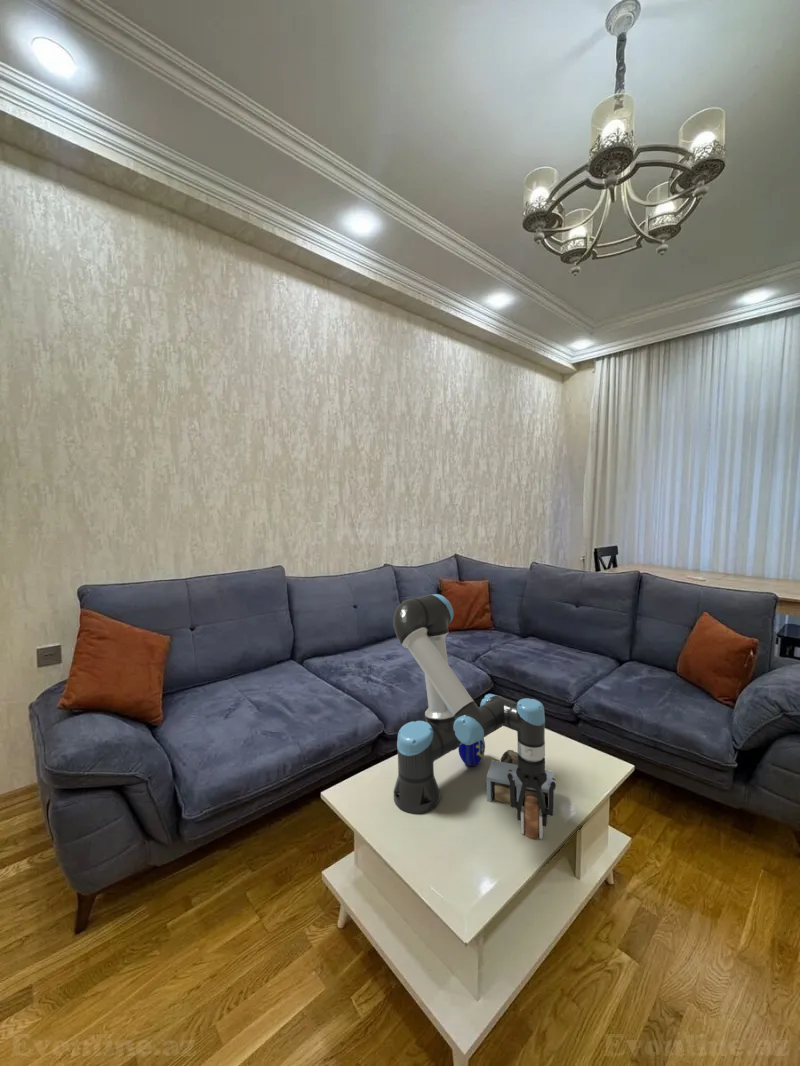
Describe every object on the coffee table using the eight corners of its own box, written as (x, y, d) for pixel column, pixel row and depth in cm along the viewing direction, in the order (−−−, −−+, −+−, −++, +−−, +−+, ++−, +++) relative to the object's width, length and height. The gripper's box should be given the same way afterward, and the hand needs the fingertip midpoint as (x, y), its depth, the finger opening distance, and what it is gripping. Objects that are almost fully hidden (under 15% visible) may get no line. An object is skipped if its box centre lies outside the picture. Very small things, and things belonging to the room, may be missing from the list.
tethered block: (520, 835, 124) (520, 802, 123) (526, 793, 142) (526, 764, 141) (542, 841, 121) (542, 807, 121) (545, 797, 140) (545, 767, 139)
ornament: (477, 774, 152) (477, 733, 152) (454, 766, 157) (453, 727, 156) (488, 758, 162) (488, 720, 161) (466, 751, 167) (465, 714, 166)
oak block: (494, 800, 139) (494, 785, 139) (497, 788, 145) (497, 774, 144) (513, 804, 137) (513, 789, 137) (516, 792, 143) (515, 778, 142)
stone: (522, 786, 145) (523, 766, 145) (496, 769, 155) (496, 750, 155) (536, 780, 149) (537, 760, 149) (510, 763, 159) (510, 744, 159)
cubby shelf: (486, 801, 139) (486, 777, 138) (492, 782, 148) (491, 759, 147) (552, 815, 131) (552, 790, 131) (553, 795, 141) (553, 771, 140)
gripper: (498, 756, 123) (499, 834, 124) (563, 768, 116) (564, 850, 118) (502, 742, 130) (503, 816, 131) (563, 753, 123) (564, 831, 125)
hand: (531, 832), depth 124 cm, fingers open, 4 cm apart
